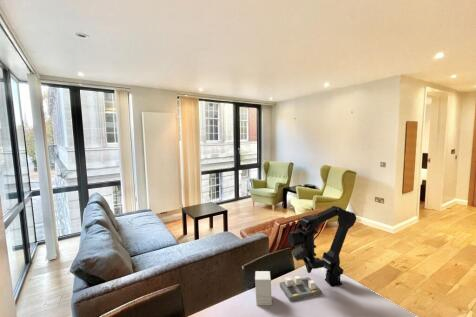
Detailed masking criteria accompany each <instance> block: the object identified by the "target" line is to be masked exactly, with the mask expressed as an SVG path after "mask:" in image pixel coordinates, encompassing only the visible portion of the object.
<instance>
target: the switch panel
mask: <svg viewBox="0 0 476 317" xmlns="http://www.w3.org/2000/svg"><path fill="white" fill-rule="evenodd" d="M300 278H301V277H300ZM291 280H292V286H289V287H287V286H286V284H285V281H281V282H279V283H278V284H279V288H280V289H281V291H282V292H283V293H284V295H285V297H286V298H287V300H288V301H289V302H291V301H298V300H302V299H303V300H304V299H307V298H311V297H317V296H321V295H323V291H322V289H321V288H320V287H319V286H318V285H317V284H316V283H315V289H313V290H311V289H310V288H309V285H308V281H310V280H312V279H311V277H309V276H308V277H303V278H301V284H299V285H296V284H295V283H294V279H291Z"/></svg>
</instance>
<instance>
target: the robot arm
mask: <svg viewBox="0 0 476 317" xmlns="http://www.w3.org/2000/svg"><path fill="white" fill-rule="evenodd" d="M335 217H337V224H338V226H337V229H336V231H335V234H334V237H333V240H332V243H331V244H330V248H329V250H328V251H326V252H325V251H323V254H322V257H321V258H319V257H316V256H317V253H316V252H315V249H316V248H317V245H316V244H315V235H317V234H318V233H319V232H318V231H317V228H319V226H320V225H321V224H322V223H325V222H327V221H329V220H331V219H333V218H335ZM356 221H357V216H356V214H355V213H354V212H352V211H349V210H345V209H344V208H342V207H339V206H338V205H332V206H330V207H329V208H327V209H324V210H322V211H320V212H318V213H315V214H313V215H312V214H311V215H305V216H302V217H301V218H300V221H299V223H298V225H297V226H296V229H295V231H290V232H289V234H288V236H287V241H288V242H287V243H288V244H289V246H290V247H295V248H294V249H292V251H291V252H290V253H291V255H292V258H294V259H295V261H297V262H298V261H303V263H304V265H305V267H306V272H307V274H310V273H311V272H312V271H313V270H315V269H322V268H324V269H325V270H326V272H325V278H324V281H325V282H326V283H327V284H329V286H331V287H337V286H342V285H343V282H342V281H341V275H343V274H344V269H343V268H342V267H341V266H340V264H341V258H340V253H341V251H342V248H343V244H344V243H345V240H346V238H347V234H348V232H349V229H351V228H352V227H354V226H355V223H356Z"/></svg>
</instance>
